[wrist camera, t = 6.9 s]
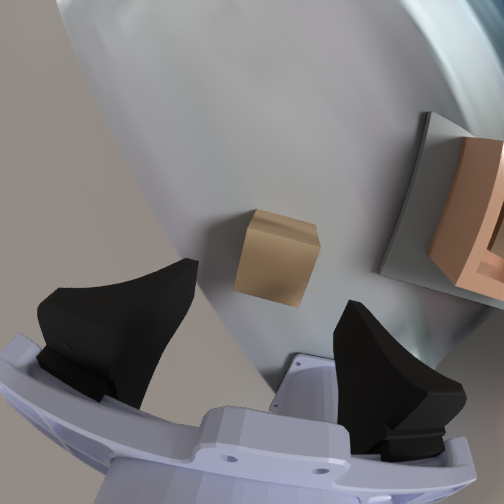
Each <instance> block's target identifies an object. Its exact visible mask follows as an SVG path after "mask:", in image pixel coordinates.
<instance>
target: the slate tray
mask: <svg viewBox="0 0 504 504" xmlns="http://www.w3.org/2000/svg"><path fill="white" fill-rule="evenodd" d="M463 137H475V136H473V135H472V134H470V133H469V132H467V131H466V130H464V129H462V128H461V127H459V126H457V125H456V124H454V123H452V122H451V121H449V120H447V119H445V118H444V117H442V116H440V115H438V114H436V113H434V112H432V111H430V112H428V114H427V119H426V124H425V128H424V133H423V137H422V141H421V145H420V149H419V153H418V157H417V161H416V164H415V168H414V171H413V175H412V178H411V181H410V185H409V188H408V191H407V194H406V197H405V200H404V203H403V206H402V209H401V212H400V215H399V218H398V221H397V223H396V226H395V229H394V231H393V234H392V237H391V239H390V242H389V244H388V247H387V249H386V252H385V254H384V257H383V259H382V261H381V264H380V266H379V269H378V273H379V274H380V275H383V276H386V277H390V278H394V279H397V280H401V281H404V282H408V283H412V284H415V285H419V286H422V287H426V288H430V289H433V290H437V291H440V292H444V293H447V294H451V295H454V296H458V297H461V298H465V299H468V300H472V301H475V302H479V303H482V304H486V305H489V306H493V307H496V308H500V309H503V310H504V301H501V300H498V299H495V298H492V297H489V296H486V295H483V294H480V293H477V292H473V291H470V290H467V289H464V288H461V287H457V286H455V285H454V284H453V283H452V282H451V280H450V279H449V278H448V277H447V276H446V275H445V274H444V273H443V271H442V270H441V269H440V268H439V267H438V266H437V265H436V264H435V263H434V262H433V261H432V260H431V259H430V257H429V256H428V255H427V254H426V253H427V251H428V248H429V246H430V244H431V241H432V239H433V236H434V234H435V231H436V228H437V226H438V223H439V220H440V218H441V215H442V212H443V209H444V206H445V203H446V200H447V197H448V194H449V191H450V188H451V184H452V181H453V178H454V174H455V170H456V167H457V163H458V159H459V155H460V151H461V146H462V142H463ZM475 138H477V137H475Z"/></svg>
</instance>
